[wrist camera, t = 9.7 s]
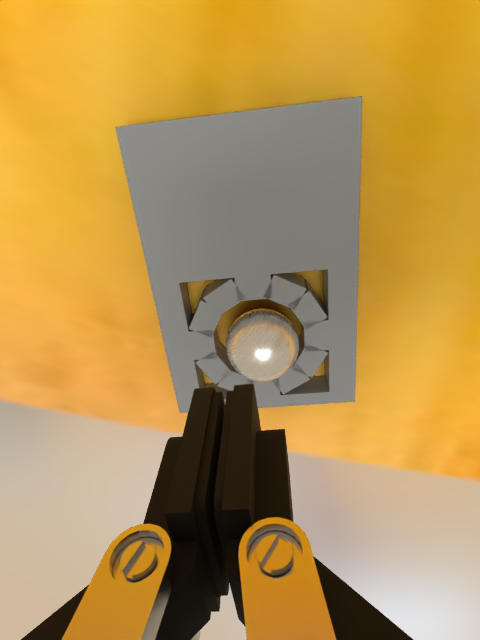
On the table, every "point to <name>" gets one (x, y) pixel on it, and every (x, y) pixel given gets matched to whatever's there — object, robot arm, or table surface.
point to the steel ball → (262, 345)
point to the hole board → (252, 237)
